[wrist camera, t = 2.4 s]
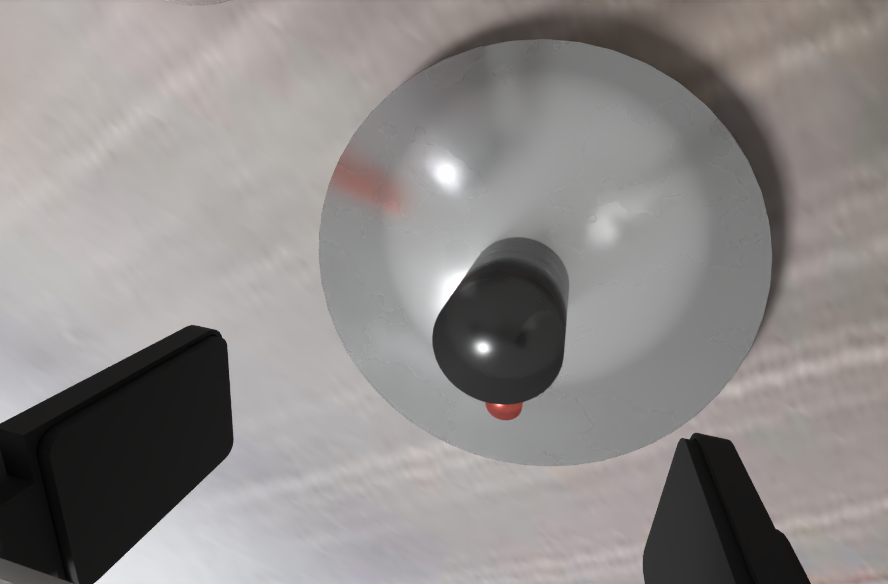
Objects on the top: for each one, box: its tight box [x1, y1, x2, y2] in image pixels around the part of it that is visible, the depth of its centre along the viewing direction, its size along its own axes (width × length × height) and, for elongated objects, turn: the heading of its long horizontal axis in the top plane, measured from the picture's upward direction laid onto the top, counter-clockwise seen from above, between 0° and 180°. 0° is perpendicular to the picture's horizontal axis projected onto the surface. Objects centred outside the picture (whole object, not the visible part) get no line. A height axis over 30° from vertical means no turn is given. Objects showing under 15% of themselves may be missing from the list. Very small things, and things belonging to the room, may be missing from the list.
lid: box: [319, 39, 772, 466], centre depth 16 cm, size 16×16×6 cm
